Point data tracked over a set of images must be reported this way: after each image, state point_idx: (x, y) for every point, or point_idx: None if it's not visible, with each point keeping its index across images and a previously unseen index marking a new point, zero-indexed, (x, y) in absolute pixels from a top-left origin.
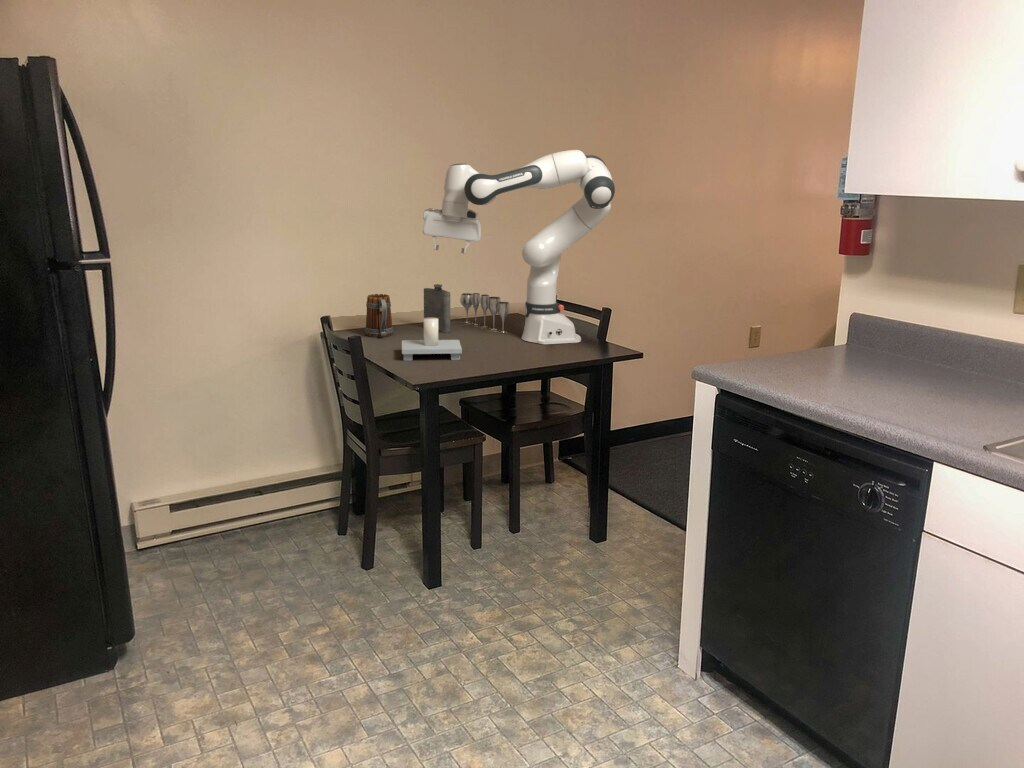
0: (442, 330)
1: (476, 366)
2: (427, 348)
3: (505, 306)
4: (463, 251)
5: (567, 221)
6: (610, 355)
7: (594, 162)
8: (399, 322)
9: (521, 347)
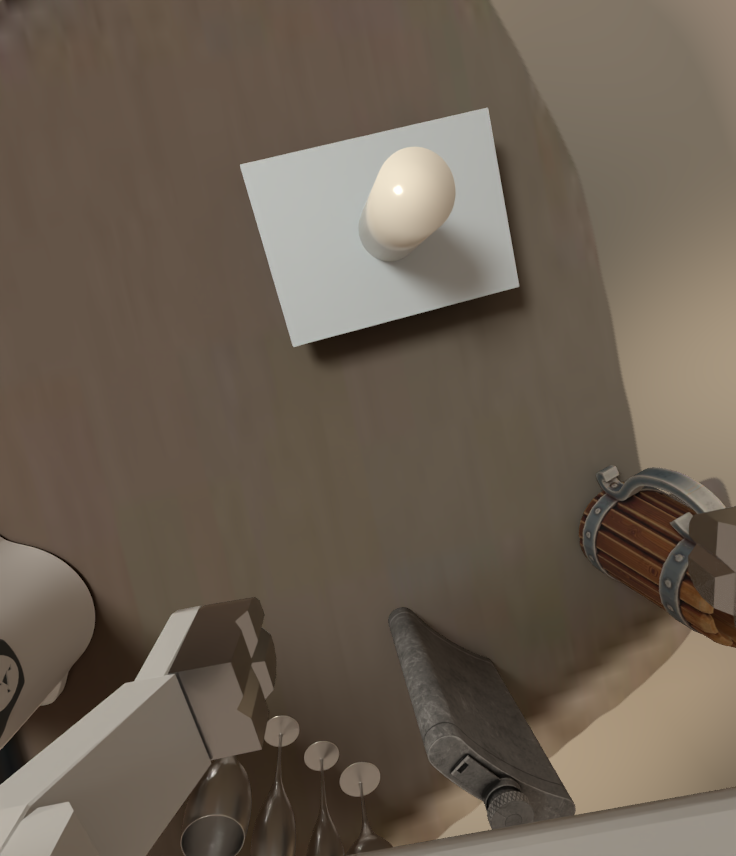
0: (417, 619)
1: (163, 91)
2: (389, 149)
3: None
4: (205, 618)
5: None
6: None
7: None
8: (586, 713)
9: (56, 458)
